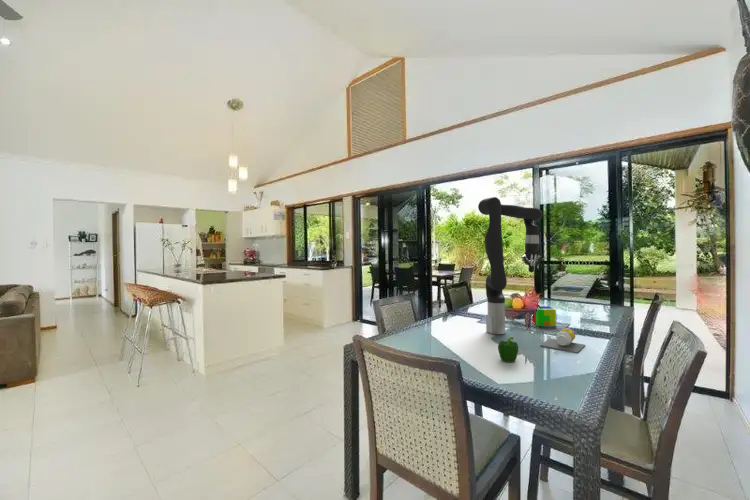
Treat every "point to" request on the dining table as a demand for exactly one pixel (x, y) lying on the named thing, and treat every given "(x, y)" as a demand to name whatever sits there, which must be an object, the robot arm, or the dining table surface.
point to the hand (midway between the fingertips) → (531, 272)
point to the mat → (569, 348)
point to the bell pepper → (508, 350)
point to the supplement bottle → (565, 336)
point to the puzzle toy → (545, 316)
